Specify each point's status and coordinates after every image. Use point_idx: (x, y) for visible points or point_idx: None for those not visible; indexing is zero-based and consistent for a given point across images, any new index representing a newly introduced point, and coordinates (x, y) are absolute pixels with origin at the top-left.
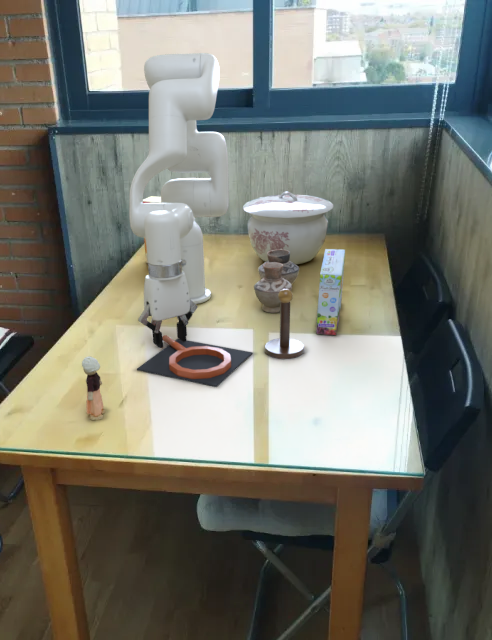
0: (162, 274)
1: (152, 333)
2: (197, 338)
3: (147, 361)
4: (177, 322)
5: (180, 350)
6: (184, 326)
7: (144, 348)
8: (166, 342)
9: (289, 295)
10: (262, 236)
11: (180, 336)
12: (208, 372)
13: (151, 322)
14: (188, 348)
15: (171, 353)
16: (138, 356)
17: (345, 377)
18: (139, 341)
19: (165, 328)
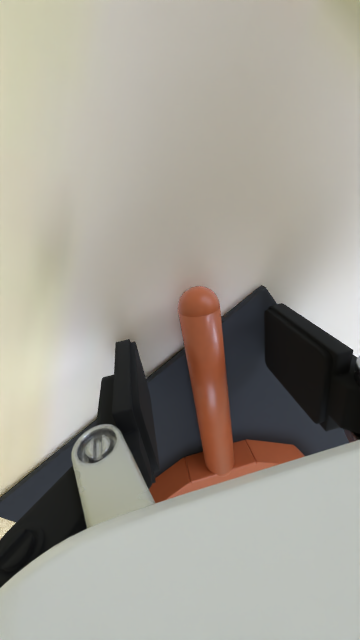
0: None
1: (96, 424)
2: (345, 303)
3: (45, 469)
4: (338, 358)
5: (201, 482)
6: (331, 427)
7: (54, 317)
8: (185, 350)
9: None
10: None
11: (274, 350)
12: None
13: (87, 512)
14: (238, 472)
15: (170, 428)
16: (6, 397)
17: None
18: (31, 190)
19: (293, 18)
